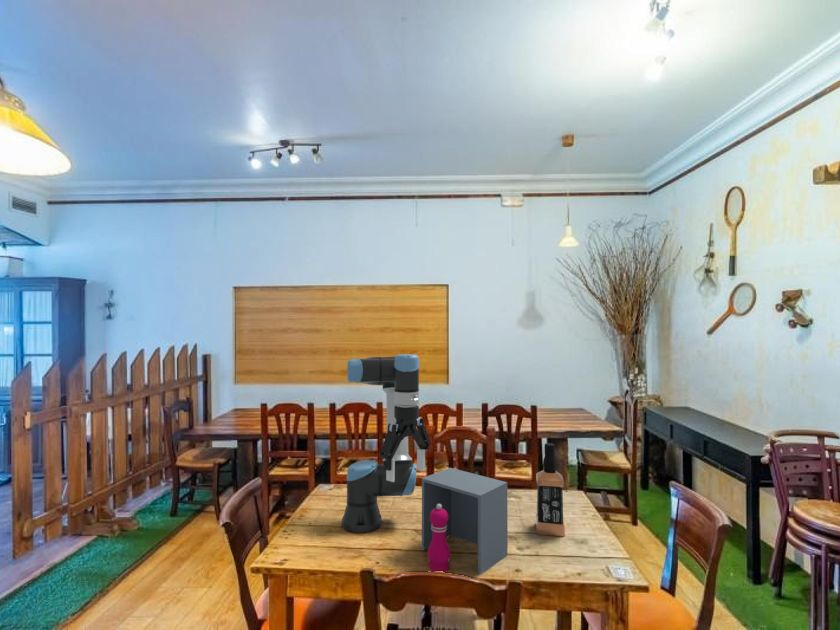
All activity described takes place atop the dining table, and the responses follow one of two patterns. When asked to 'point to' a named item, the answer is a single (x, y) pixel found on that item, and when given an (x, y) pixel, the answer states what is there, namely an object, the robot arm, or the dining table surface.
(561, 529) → the whiskey bottle
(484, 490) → the cubby
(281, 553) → the dining table surface
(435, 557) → the pepper mill
